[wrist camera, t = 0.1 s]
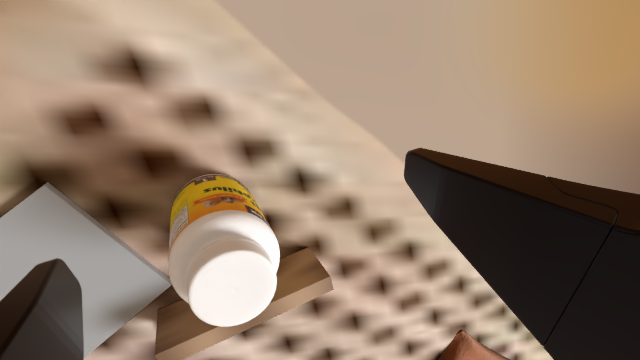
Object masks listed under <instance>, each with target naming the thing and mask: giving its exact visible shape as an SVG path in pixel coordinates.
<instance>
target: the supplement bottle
mask: <svg viewBox="0 0 640 360" xmlns="http://www.w3.org/2000/svg"><path fill="white" fill-rule="evenodd" d="M279 261H280V250H279V245H278V241H277V239H276V237H275V235H274V232H273V231H272V228H271V227H270V226H269V224H268V222H267V221H266V219H265V217H264V216H263V214H262V212H261V210H260V209H259V207H258V205H257V204H256V202H255V200H254V198H253V197H252V195H251V194H250V192H249V191H248V189H247V188H246V187H245V186H244V185H243V184H242V183H241V182H240V181H238V180H236V179H235V178H232V177H230V176H227V175H223V174H208V175H203V176H199V177H197V178H195V179H193V180H191V181H190V182H188V183H187V184H186V185H184V186H183V187H182V188H181V189H180V191H179V192H178V193H177V195H176V197H175V199H174V201H173V204H172V209H171V222H170V240H169V257H168V271H169V276H170V280H171V283H172V285H173V287H174V289H175V291H176V292H177V293H178V295H179V296H180V297H181V298H182V299H183V300H185V301H186V302H187V303H189V305H190V307H191V309H192V311H193V312H194V314H195V315H196V316H197V317H198V318H199V319H200V320H202V321H204V322H206V323H208V324H211V325H214V326H220V327H229V326H235V325H239V324H242V323H245V322H247V321H250V320H251V319H253V318H255V317H256V316H258V315H259V314H260V313H261V312H262V311H263V310H264V309H265V308H266V307H267V306H268V305H269V303H270V302H271V300H272V298H273V296H274V293H275V291H276V285H277V276H276V273H277V270H278V267H279Z"/></svg>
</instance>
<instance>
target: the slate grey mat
mask: <svg viewBox="0 0 640 360" xmlns="http://www.w3.org/2000/svg"><path fill="white" fill-rule="evenodd" d="M56 258H59V259H62V260H63V261H64V262H65V263H66V265H67V266H68V267H69V269H70V270H71V271H72V273H73V274H74V276H75V277H76V278H77V280H78V281H79V283H80V286H81V289H82V310H83V336H84V358H85V357H86V356H87V355H88V354H89V353H91V352H92V351H93V350H94V349H95V348H97V347H98V346H99V345H100V344H101V343H103V342H104V341H105V340H106V339H107V338H109V337H110V336H111V335H112V334H113V333H115V332H116V331H117V330H118V329H119V328H121V327H122V326H123V325H124V324H126V323H127V322H128V321H129V320H130V319H132V318H133V317H134V316H135V315H136V314H138V313H139V312H140V311H141V310H142V309H144V308H145V307H146V306H147V305H148V304H150V303H151V302H152V301H153V300H154V299H156V298H157V297H158V296H159V295H160V294H162V293H163V292H164V291H165V290H166V289H168V288H169V287H170V286H171V285H172V283H171V280H170V279H169V278H168V277H167V276H165V275H164V274H163V273H162V272H160V271H159V270H158V269H157V268H155V267H154V266H153V265H152V264H150V263H149V262H148V261H147V260H145V259H144V258H143V257H142V256H140V255H139V254H138V253H137V252H135V251H134V250H133V249H131V248H130V247H129V246H128V245H126V244H125V243H124V242H123V241H121V240H120V239H119V238H118V237H116V236H115V235H114V234H113V233H111V232H110V231H109V230H108V229H106V228H105V227H104V226H103V225H101V224H100V223H99V222H97V221H96V220H95V219H94V218H92V217H91V216H90V215H89V214H87V213H86V212H85V211H84V210H82V209H81V208H80V207H79V206H77V205H76V204H75V203H74V202H72V201H71V200H70V199H69V198H67V197H66V196H65V195H63V194H62V193H61V192H60V191H58V190H57V189H56V188H55V187H53V186H52V185H51V184H50V183H48V182H47V183H46V184H44V185H43V186H42V187H40V188H39V189H38V190H36V191H35V192H34V193H32V194H31V195H30V196H28V197H27V198H26V199H24V200H23V201H22V202H20V203H19V204H18V205H16V206H15V207H14V208H12V209H11V210H10V211H8V212H7V213H6V214H4V215H3V216H2V217H0V301H1V300H2V299H3V298H4V297H5V296H6V295H7V294H8V293H9V292H10V291H11V290H12V289H13V288H14V287H15V286H16V285H17V284H18V283H19V282H20V281H21V280H22V279H23V278H24V277H25V276H26V275H27V274H28V273H29V272H30V271H31V270H32V269H33V268H34V267H35V266H36V265H37V264H39V263H42V262H46V261H49V260H52V259H56Z"/></svg>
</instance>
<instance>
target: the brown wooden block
mask: <svg viewBox="0 0 640 360" xmlns="http://www.w3.org/2000/svg"><path fill="white" fill-rule="evenodd" d="M276 276H277V285H276V291H275V293H274V296H273V298H272V300H271V302H270V303H269V305H268V306H267V307H266V308H265V309H264V310H263V311H262V312H261V313H260V314H259V315H258V316H256V317H255V318H253V319H251V320H250V321H247V322H245V323H242V324H239V325H235V326H229V327H220V326H214V325H211V324H208V323H206V322H204V321H202V320H200V319H199V318H198V317H197V316H196V315H195V314H194V312H193V311H192V309H191V307H190V305H189V303H187V302H186V301H185V300H183V299H182V300H180V301H178V302H175V303H173V304H170V305H168V306H166V307H163V308H161V309H158V318H157V332H156V345H155V357H156V358H157V360H182V359H184V358H187V357H189V356H191V355H193V354H195V353H197V352H200V351H202V350H204V349H206V348H208V347H210V346H213V345H215V344H217V343H219V342H221V341H223V340H226V339H228V338H230V337H232V336H234V335H236V334H239V333H241V332H243V331H245V330H247V329H249V328H251V327H254V326H256V325H258V324H260V323H262V322H264V321H267V320H269V319H271V318H273V317H275V316H277V315H280V314H282V313H284V312H286V311H288V310H290V309H293V308H295V307H297V306H299V305H301V304H303V303H305V302H308V301H310V300H312V299H314V298H316V297H318V296H321V295H323V294H325V293H327V292H329V291H331V290H333V285H332V281H331V277H330V275H329V274H328V273H327V271H326V270H325V269H324V267H323V266H322V265H321V263H320V262H319V261H318V259H317V258H316V257H315V255H314V254H313V253H312V251H311V250H310V248H309V247H308V248H305V249H303V250H300V251H298V252H296V253H293V254H291V255H288V256H286V257H284V258H281V259H280V261H279V267H278V270H277V273H276Z"/></svg>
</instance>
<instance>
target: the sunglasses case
mask: <svg viewBox="0 0 640 360" xmlns="http://www.w3.org/2000/svg"><path fill="white" fill-rule="evenodd" d="M438 360H509V359H507V358H505V357H503V356H502V355H500V354H498V353H496V352H495V351H492V350H490V349H489V348H488V347H486V346H484V345H483V344H481V343H479V342H478V341H477V340H475V339H474V338H472V337H471V336H470V335H469V334H467V333H466V332H465V331H463V330H461V331H459V332H458V333H457V334H456V336H455V337H454V339H453V341H452V342H451V343H450V345H449V346H448V347H447V349H446V350H445V351H444V352H443V354H442V355H441V357H440V358H439V359H438Z"/></svg>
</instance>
